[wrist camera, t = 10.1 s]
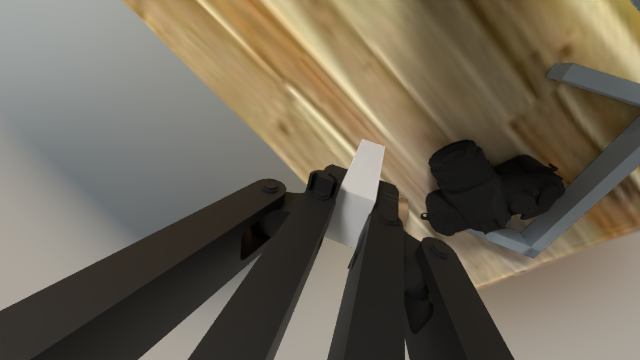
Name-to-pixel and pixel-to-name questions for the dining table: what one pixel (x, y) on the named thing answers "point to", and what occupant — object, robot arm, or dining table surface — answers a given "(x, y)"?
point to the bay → (595, 181)
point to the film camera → (487, 189)
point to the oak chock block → (403, 210)
